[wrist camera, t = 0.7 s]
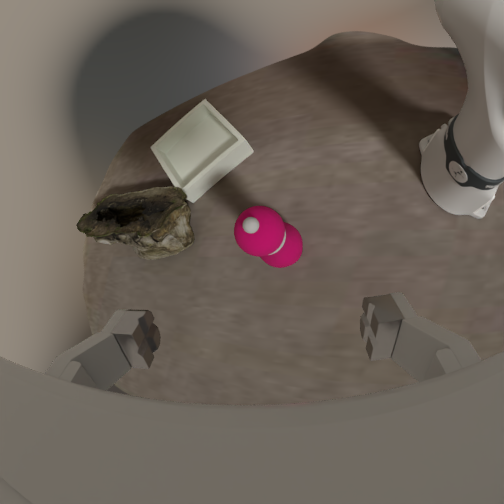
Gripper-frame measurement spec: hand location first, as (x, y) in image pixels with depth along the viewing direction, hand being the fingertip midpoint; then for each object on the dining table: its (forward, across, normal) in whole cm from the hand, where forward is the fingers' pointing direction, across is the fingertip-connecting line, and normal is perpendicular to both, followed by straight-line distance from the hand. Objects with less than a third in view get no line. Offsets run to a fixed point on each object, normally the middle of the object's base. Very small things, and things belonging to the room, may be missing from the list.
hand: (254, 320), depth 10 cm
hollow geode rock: (+45, +27, +10) cm, 53 cm away
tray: (+50, +13, -4) cm, 52 cm away
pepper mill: (+36, -2, +13) cm, 38 cm away
